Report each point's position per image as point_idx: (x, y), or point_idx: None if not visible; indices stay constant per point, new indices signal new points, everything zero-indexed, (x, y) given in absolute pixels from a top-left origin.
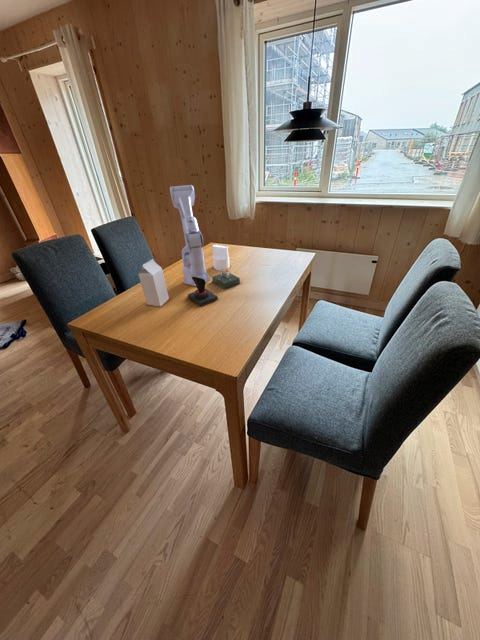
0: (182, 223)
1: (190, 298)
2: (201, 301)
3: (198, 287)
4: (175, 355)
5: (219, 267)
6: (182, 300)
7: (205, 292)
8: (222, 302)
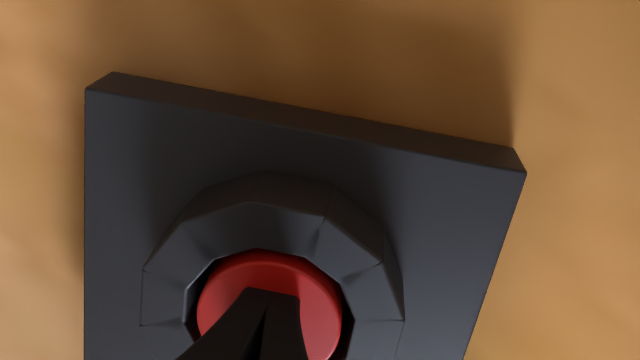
0: None
1: (424, 135)
2: (111, 144)
3: (219, 345)
4: None
5: None
6: (525, 20)
7: None
8: (4, 319)
